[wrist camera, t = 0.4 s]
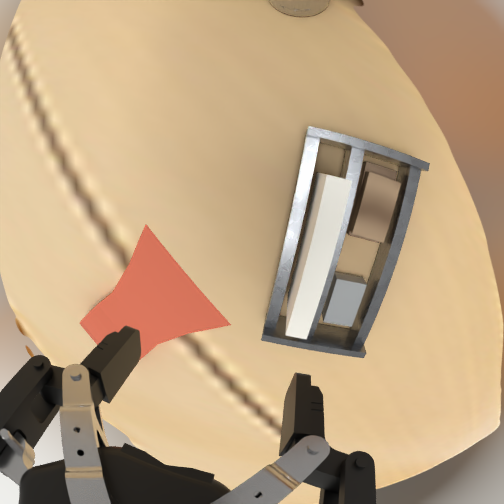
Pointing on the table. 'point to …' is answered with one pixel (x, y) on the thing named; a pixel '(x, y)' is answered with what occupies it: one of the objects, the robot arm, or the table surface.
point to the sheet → (153, 300)
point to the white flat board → (316, 252)
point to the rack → (386, 259)
